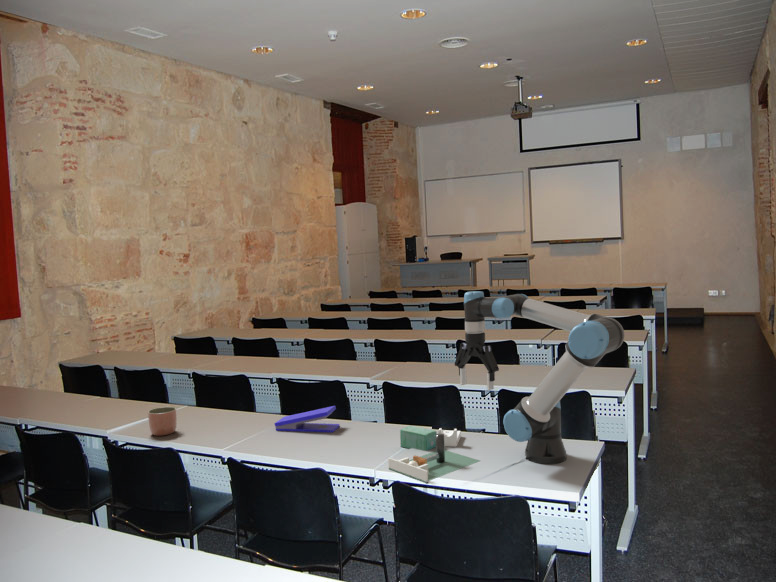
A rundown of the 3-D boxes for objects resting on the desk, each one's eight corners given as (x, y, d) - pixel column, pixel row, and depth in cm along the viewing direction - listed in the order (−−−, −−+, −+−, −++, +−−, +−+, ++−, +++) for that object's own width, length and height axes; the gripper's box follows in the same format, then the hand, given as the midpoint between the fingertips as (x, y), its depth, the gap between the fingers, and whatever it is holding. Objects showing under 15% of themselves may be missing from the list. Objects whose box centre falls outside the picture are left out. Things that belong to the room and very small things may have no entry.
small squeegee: (449, 461, 233) (448, 435, 232) (424, 470, 224) (423, 443, 224) (437, 458, 237) (436, 432, 237) (413, 466, 229) (412, 440, 228)
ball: (415, 460, 223) (411, 471, 221) (422, 464, 225) (418, 475, 224) (408, 457, 226) (403, 468, 224) (414, 461, 228) (410, 472, 227)
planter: (181, 433, 288) (179, 410, 288) (153, 439, 281) (151, 415, 281) (173, 427, 299) (172, 405, 298) (146, 433, 292) (144, 409, 291)
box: (427, 453, 247) (426, 434, 247) (400, 447, 256) (399, 429, 255) (437, 448, 253) (437, 430, 252) (411, 442, 262) (410, 425, 261)
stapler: (332, 433, 280) (331, 411, 279) (274, 431, 286) (272, 410, 286) (340, 426, 291) (339, 405, 290) (283, 424, 297) (282, 404, 297)
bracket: (456, 449, 251) (456, 430, 251) (439, 448, 253) (438, 430, 253) (460, 439, 264) (460, 421, 263) (444, 438, 266) (443, 421, 265)
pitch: (480, 462, 234) (480, 451, 233) (426, 483, 215) (426, 471, 215) (442, 451, 249) (441, 440, 248) (388, 469, 231) (388, 458, 230)
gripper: (507, 333, 232) (508, 389, 233) (457, 328, 251) (459, 380, 252) (494, 335, 227) (496, 393, 228) (444, 330, 246) (446, 384, 247)
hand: (476, 387), depth 240 cm, fingers open, 13 cm apart
